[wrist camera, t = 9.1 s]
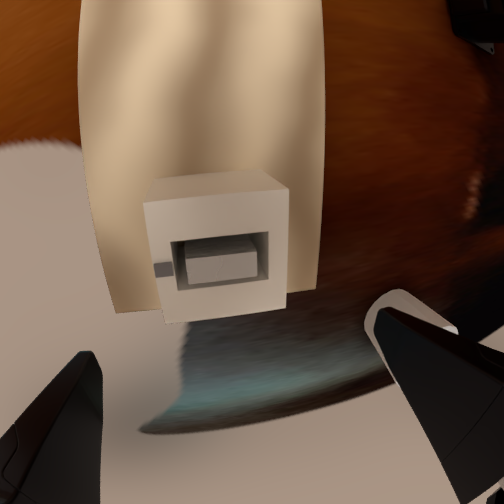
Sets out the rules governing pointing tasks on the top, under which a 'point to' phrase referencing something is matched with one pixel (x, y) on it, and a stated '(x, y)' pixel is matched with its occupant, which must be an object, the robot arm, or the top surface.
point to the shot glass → (405, 304)
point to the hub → (213, 225)
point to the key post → (220, 258)
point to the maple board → (198, 117)
